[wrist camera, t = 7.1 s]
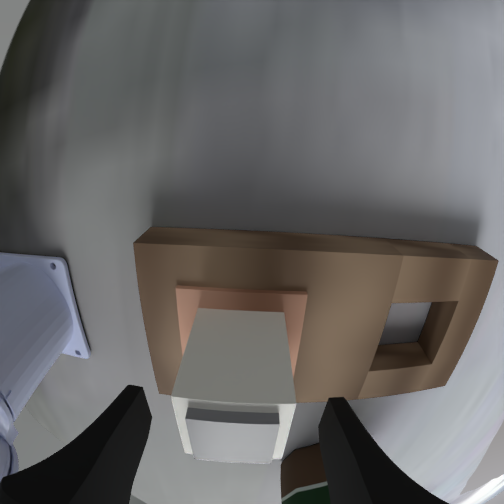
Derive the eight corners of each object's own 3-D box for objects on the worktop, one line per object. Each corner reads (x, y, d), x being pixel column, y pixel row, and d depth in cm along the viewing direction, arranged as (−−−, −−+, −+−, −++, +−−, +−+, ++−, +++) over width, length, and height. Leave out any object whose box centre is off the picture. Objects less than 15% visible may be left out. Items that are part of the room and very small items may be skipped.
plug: (202, 368, 15) (183, 462, 9) (198, 307, 14) (167, 407, 8) (276, 372, 15) (282, 468, 9) (284, 312, 14) (297, 415, 8)
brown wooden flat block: (167, 367, 19) (158, 396, 16) (150, 227, 15) (130, 245, 12) (432, 364, 19) (446, 388, 16) (475, 246, 15) (501, 262, 12)
